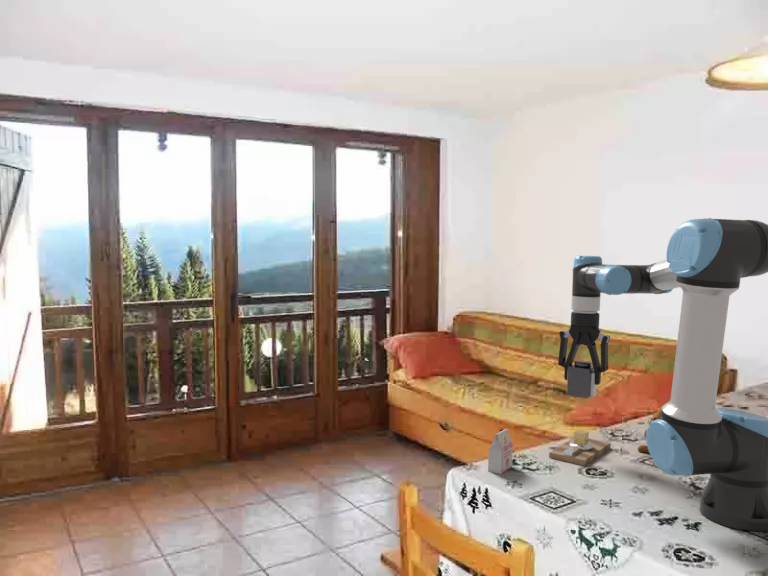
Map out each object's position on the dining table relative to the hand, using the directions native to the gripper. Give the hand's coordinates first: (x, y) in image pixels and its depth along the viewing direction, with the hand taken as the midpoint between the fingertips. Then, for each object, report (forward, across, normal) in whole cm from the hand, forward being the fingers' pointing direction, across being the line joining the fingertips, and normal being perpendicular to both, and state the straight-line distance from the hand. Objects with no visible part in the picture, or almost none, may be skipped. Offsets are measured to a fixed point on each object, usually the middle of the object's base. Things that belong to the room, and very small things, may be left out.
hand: (581, 393), depth 182 cm
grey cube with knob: (0, 0, 0) cm, 0 cm away
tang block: (+17, 0, -1) cm, 17 cm away
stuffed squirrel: (+17, -20, -16) cm, 31 cm away
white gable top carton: (+17, +12, +26) cm, 33 cm away
